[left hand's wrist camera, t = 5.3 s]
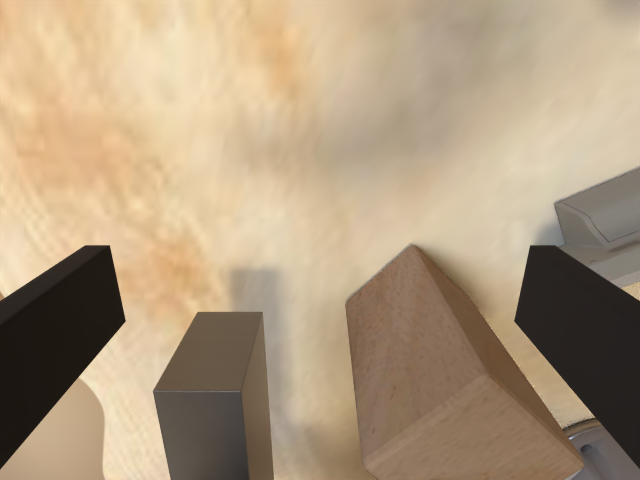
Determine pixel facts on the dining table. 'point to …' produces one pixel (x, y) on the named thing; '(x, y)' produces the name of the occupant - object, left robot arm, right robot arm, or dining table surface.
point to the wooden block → (443, 386)
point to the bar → (217, 401)
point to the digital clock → (605, 228)
